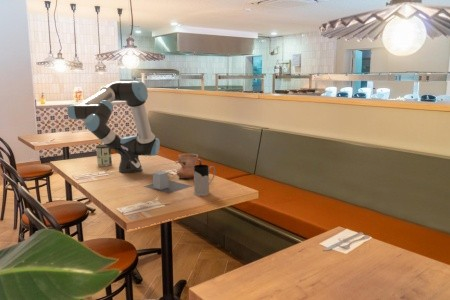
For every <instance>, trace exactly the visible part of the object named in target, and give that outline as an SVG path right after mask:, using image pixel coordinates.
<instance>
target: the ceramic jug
mask: <svg viewBox="0 0 450 300" xmlns="http://www.w3.org/2000/svg"><path fill="white" fill-rule="evenodd" d="M177 157H178V160H176V161H174V162H175V164H179V165H180V168H178V169H177V170H176V175H177V177H179V178H181V179H184V180H185V179H186V180H187V179H188V180H190V179H191V180H192V179H194V166H195V165H197V162H199V164H198V165H203V161H202V160H201V158H199V155H198V154H196V153H182V154H178V156H177Z"/></svg>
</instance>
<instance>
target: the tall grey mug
mask: <svg viewBox="0 0 450 300" xmlns="http://www.w3.org/2000/svg"><path fill="white" fill-rule="evenodd" d="M211 168H213V174H212V175H213V176H212V178H211V180H210V179H209V178H210V176H209V175H210V172H211V171H210V170H211ZM215 174H216V168H215V166H214V165H211V166H209V165H208V164H202V165H199V164H196V165H195V166H194V178H193V182H194V183H193V186H194V187H193V189H194V191H193V195H194V196H199V197H201V196H202V197H204V196H208V195H210V194H211V193H210V185H211V183H213V182H212V181H213V180H214V179H215V176H216V175H215Z"/></svg>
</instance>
